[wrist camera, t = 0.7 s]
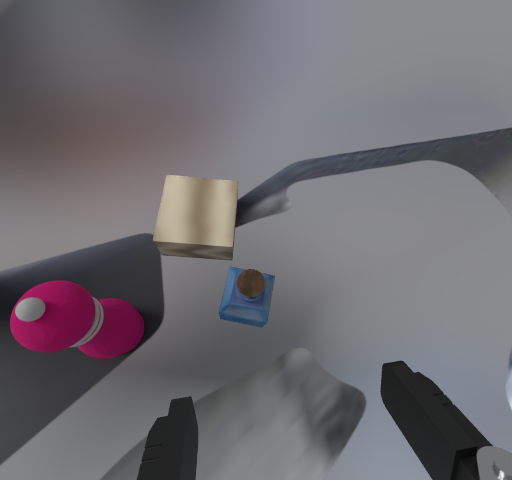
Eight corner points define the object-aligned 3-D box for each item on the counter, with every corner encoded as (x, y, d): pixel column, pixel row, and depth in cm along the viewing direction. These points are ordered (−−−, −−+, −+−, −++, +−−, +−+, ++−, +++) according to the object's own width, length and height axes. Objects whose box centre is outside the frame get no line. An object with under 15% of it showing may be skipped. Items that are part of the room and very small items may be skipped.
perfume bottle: (229, 278, 43) (229, 251, 32) (268, 286, 43) (282, 262, 32) (220, 318, 40) (217, 304, 29) (261, 327, 40) (274, 316, 29)
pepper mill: (150, 303, 40) (84, 259, 22) (145, 357, 37) (64, 358, 19) (98, 304, 39) (-16, 261, 21) (89, 359, 37) (-52, 364, 18)
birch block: (162, 255, 43) (152, 240, 38) (173, 195, 48) (166, 174, 42) (232, 260, 44) (232, 246, 38) (237, 201, 48) (238, 181, 43)
